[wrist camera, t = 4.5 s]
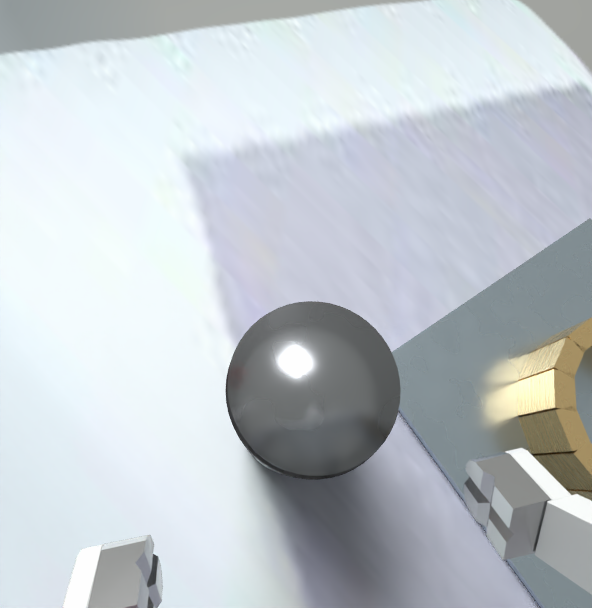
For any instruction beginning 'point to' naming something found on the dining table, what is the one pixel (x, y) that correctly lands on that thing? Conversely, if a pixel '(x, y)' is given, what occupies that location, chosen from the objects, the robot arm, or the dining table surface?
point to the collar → (513, 384)
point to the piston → (312, 390)
